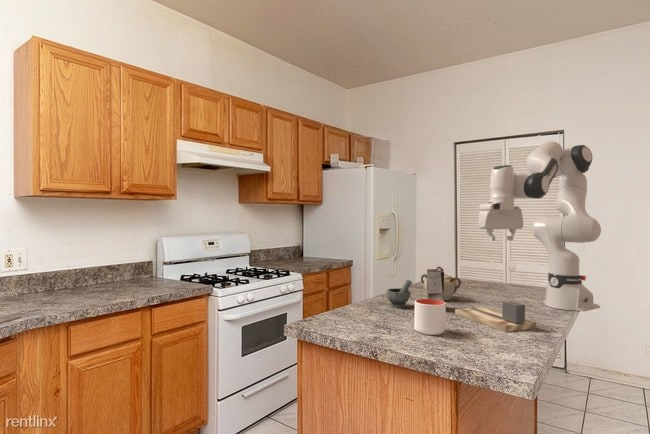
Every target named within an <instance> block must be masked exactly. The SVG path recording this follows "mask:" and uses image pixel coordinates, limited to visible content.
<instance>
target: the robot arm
mask: <svg viewBox="0 0 650 434" xmlns="http://www.w3.org/2000/svg"><path fill="white" fill-rule="evenodd" d="M592 161H593V153H592V151H591V149H590V148H589V147H588V146H586V145H585V144H577V145H574V146H571V147H568V148H566V149H565V148H564V149H563V147H562V146H561V144H560V143H559V142H556V141H546V142H545V143H542V144H540V145H538V146H537V147H536V148H534V150H533V151H531V152H530V153H528V156H527V158H526V160H525V163H526V164H525V165H526V167H527V170H528V171H529V172H530V173H525V174H523V173H522V174H517V173H515V172H514V168H513V165H510V164H509V165H508V164H505V165H498V166H494V167H493V168H491V173H490V181H489V189H490V196H489V201H486V202H484V203H482V204H481V203H480V205H479V207H478V208H479V210H480V211H479V213H478V227H479V229H481V230H486V233H487V236H488V241H490V242H494V241H496V236H494V234H493V233H494V230H508V232H509V234H508V235H506V240H507V241H511V242H512V241H514V236H515V234H516V230H522V229H523V228H524V217H523V213H522V209H521V208H520V207H519V206H517V205H516V206H515V199H538V200H539V199H542V198H544V197H545V196H546V195H547V193H548V192H549V189H550V186H551V183H552V182H553V179H554V178H555V179H556V178H557V177H561V181H560V183H559V186H558V191H557V195H556V199H555V205H554V206H555V208H556V210H557V211H558V212H559V213H561V215H564V216H543V217H538V218H536V219H535V220H534V221H533V223H532V225H531V232H532V235H533V236H534V237H535V238H536V239H537V240H538V241H539V242H540V243H541V244H542V245H543V246H544V248H545V249H546V251H547V255H548V264H549V270H548V271H549V272H548V274H547V281H548V283H547V284H546V292H545V298H544V299H543V303H544V305H545V306H547V307H549V308H553V309H559V310H566V311H576V312H588V311H592V310H596V309H597V310H598V309H600V308H601V306H600V304H597V303H594V295H593V293H592V292H591V291H590V290H589V289H588V288H587V287H586V286H585V285H583V281H586V279H587V276H586V275H580V257H579V255H577V254H576V253H575V252H574V251H571V250H570V249H568V248H567V247H565V244H564V243H576V244H577V243H578V244H579V243H580V244H582V243H583V244H584V243H591V242H596V241H597V240H598V239H599V237H600V236H601V232H602V228H601V227H602V226H601V225H600V223H599V221H598V220H597V219H596V218H593V216H591V215H590V214H588V212H587V210H586V198H587V192H588V181H587V176H586V175H585V173H586V172H588V171H589V169H590V166H591V164H592Z"/></svg>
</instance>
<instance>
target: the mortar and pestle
mask: <svg viewBox="0 0 650 434" xmlns="http://www.w3.org/2000/svg"><path fill="white" fill-rule="evenodd" d="M412 284H413V282H412V280H410V279H406V280H405V282H404V283H403V286H402V287H401V288H388V289H387V290H386V297H387V299H388V301H389V302H390V307H391V308H394V309H405V308H406V306H407V305H406V304H407V302H408V301H409V299H410V297H411V290H410V287H411V285H412Z"/></svg>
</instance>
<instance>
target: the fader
mask: <svg viewBox="0 0 650 434" xmlns="http://www.w3.org/2000/svg"><path fill="white" fill-rule="evenodd" d="M501 312H502V319H504V320H507V321H510V322H514V323H523V322H525V319H526V304H522V303H519V302H517V301H516V302H515V301H512V300H510V301H502V310H501Z"/></svg>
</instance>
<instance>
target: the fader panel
mask: <svg viewBox="0 0 650 434" xmlns="http://www.w3.org/2000/svg"><path fill="white" fill-rule="evenodd" d="M454 315H456V316H459V317H462V318H465V319H467V320H470V321H473V322H476V323H478V324H481V325H485V326H488V327H491V328H493V329H496V330H499V331H502V332H503V333H507V332H508V333H509V332H515V331H523V330H530V329H537V321H534V320H530V319H526V318H525V322H523V323H514V322H510V321H507V320H504V319H502V311H500V310H496V309H492V308H489V307H486V306H476V307H475V306H474V307H463V308H456V309H454Z"/></svg>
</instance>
